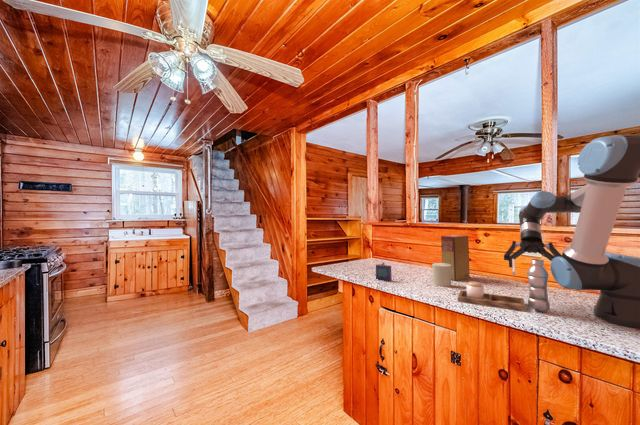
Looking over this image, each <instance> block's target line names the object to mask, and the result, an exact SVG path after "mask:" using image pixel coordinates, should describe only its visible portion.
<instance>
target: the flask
mask: <svg viewBox="0 0 640 425" xmlns="http://www.w3.org/2000/svg"><path fill="white" fill-rule="evenodd" d="M385 263H386V262H384V261H382V262H381V263H377V264H375V280H376V279H378V280H377V281H381V280H384V281H383V282H391V281H392V279H393V278H392V275H393V274H392V265H390V264H385Z"/></svg>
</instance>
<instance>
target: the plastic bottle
mask: <svg viewBox="0 0 640 425" xmlns="http://www.w3.org/2000/svg"><path fill="white" fill-rule="evenodd" d="M544 262H545V261H544V260H543V259H538V258H531V263H530V264H531V266H530V267H529V268H528V269H527V271H526V273H527V279H528V286H529V290H528V299H527V305H528V308H530V309H532V310H534V311H535V312H540V313H541V312H542V313H545V312H548V311H549V310H550V308H551V307H550V306H551V304H550V300H549V295H548V284H549V283H548V282H549V281H548V280H549V273H548V271H547V269H546V268H545V267H544V266H545V263H544Z"/></svg>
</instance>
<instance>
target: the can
mask: <svg viewBox="0 0 640 425" xmlns="http://www.w3.org/2000/svg"><path fill="white" fill-rule="evenodd" d="M431 268H432V270H431V271H432V286H436V287H442V288H447V287H448V288H449V287H451V286H452V280H451V265H450V264H447V263H442V262H435V263H432V264H431Z"/></svg>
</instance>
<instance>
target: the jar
mask: <svg viewBox="0 0 640 425" xmlns="http://www.w3.org/2000/svg"><path fill="white" fill-rule="evenodd" d="M484 289H485V288H484V285H483V284H482V282H479V281H473V280H471V281H468V282H467V283H466V291H467V297H468V298H475V299H482V300H484V293H485V291H484Z"/></svg>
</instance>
